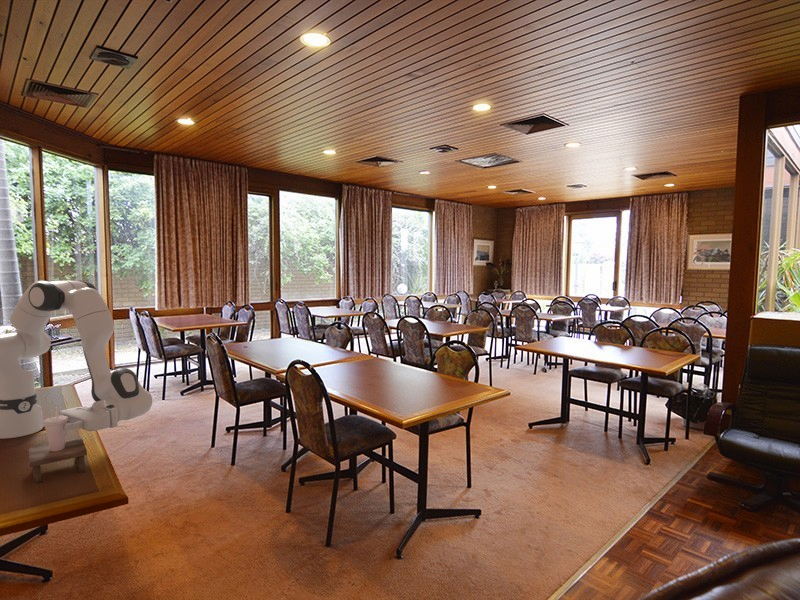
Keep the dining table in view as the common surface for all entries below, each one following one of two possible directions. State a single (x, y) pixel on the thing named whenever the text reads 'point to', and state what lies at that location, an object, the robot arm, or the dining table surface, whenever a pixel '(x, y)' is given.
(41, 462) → the stool
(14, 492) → the dining table surface
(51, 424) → the smoothie
